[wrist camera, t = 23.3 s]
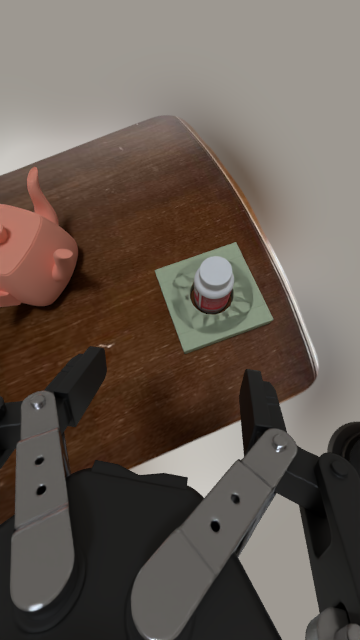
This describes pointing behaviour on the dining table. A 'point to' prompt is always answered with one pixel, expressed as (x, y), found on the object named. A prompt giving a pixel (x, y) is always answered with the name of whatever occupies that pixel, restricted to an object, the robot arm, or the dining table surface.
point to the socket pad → (209, 328)
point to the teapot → (34, 252)
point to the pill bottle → (213, 284)
